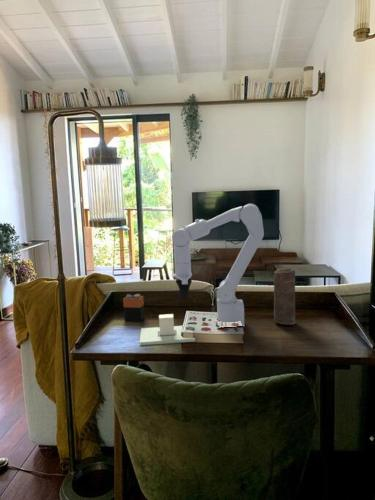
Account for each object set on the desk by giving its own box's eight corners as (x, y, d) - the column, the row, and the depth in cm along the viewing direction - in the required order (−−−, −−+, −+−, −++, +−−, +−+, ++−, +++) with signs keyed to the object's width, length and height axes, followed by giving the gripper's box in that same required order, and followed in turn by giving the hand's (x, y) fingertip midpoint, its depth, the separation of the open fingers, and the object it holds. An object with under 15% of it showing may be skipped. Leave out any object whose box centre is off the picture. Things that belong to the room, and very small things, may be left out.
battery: (141, 322, 145) (139, 296, 143) (124, 321, 147) (122, 296, 145) (145, 318, 149) (143, 293, 148) (128, 317, 151) (126, 292, 149)
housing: (173, 330, 133) (173, 313, 132) (174, 334, 130) (173, 317, 128) (159, 331, 133) (159, 314, 132) (159, 335, 129) (159, 318, 128)
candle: (286, 329, 133) (286, 272, 129) (269, 323, 139) (269, 269, 135) (299, 323, 138) (300, 268, 134) (282, 318, 143) (282, 265, 140)
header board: (192, 327, 138) (191, 318, 137) (195, 341, 126) (194, 330, 125) (141, 331, 137) (140, 321, 136) (139, 345, 125) (139, 334, 124)
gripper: (170, 258, 145) (172, 293, 148) (172, 267, 131) (174, 305, 133) (189, 257, 146) (191, 292, 148) (193, 265, 132) (194, 304, 134)
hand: (184, 298), depth 141 cm, fingers closed
